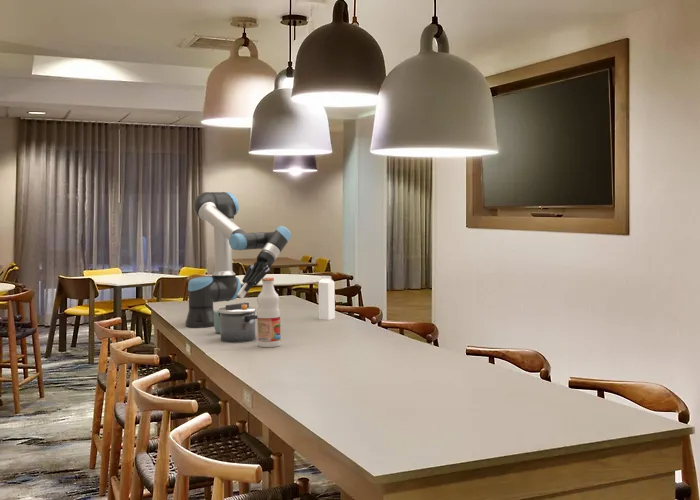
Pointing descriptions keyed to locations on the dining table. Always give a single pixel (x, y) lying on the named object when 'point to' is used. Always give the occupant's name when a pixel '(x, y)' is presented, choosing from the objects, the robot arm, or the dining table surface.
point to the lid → (237, 309)
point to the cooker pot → (237, 327)
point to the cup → (217, 321)
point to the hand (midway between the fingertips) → (239, 296)
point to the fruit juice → (268, 315)
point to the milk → (326, 298)
